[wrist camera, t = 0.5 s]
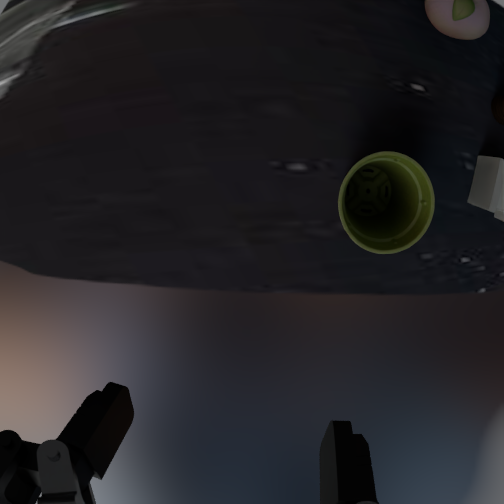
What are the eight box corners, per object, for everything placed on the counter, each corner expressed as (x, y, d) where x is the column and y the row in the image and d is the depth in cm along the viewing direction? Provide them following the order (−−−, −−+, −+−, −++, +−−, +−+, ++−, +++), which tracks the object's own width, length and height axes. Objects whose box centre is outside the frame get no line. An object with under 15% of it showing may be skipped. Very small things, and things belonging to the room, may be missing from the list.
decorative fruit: (461, 62, 26) (504, 44, 17) (407, 29, 26) (439, -1, 17) (470, 13, 23) (507, -10, 14) (419, -17, 23) (447, -51, 14)
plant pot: (401, 230, 34) (430, 253, 26) (327, 231, 36) (337, 254, 27) (404, 153, 31) (436, 155, 23) (326, 150, 33) (338, 149, 24)
